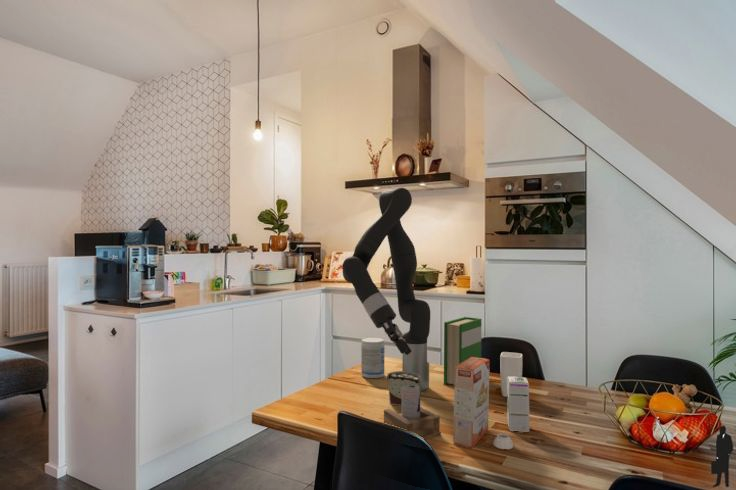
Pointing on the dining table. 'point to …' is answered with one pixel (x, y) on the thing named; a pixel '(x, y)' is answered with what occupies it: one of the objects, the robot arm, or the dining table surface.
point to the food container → (400, 384)
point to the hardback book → (460, 344)
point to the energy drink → (410, 401)
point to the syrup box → (518, 404)
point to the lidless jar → (503, 441)
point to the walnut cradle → (415, 423)
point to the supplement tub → (372, 357)
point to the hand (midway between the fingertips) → (407, 352)
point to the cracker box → (471, 401)
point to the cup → (509, 368)
